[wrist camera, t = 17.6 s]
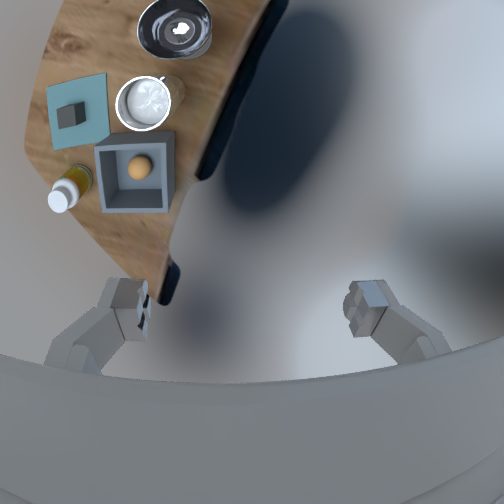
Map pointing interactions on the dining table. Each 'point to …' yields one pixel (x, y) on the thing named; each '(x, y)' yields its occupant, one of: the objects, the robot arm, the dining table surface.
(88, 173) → the supplement bottle
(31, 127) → the dining table surface
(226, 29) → the dining table surface
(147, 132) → the storage box
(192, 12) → the wine glass
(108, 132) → the lid
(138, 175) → the orange ball
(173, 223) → the dining table surface
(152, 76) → the beer glass
